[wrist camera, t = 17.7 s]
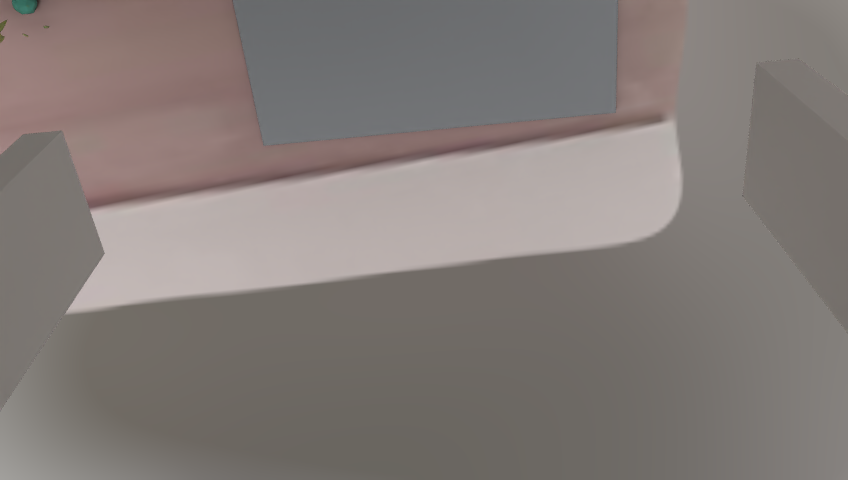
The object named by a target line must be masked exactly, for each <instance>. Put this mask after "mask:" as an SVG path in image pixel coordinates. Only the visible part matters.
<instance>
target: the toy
mask: <svg viewBox="0 0 848 480" xmlns="http://www.w3.org/2000/svg"><path fill="white" fill-rule="evenodd" d="M12 5H13V7H14V9H15V10H16V11H18V12H19V13H21V14H30V13H34V11H35V9H36V7H37V0H12ZM6 22H7V20H5V21H4V22H2V23H0V32H1V31H2V30H3V28H4V26H5V24H6ZM44 28H49V26H44ZM23 35H24V36H27V37H28V35H26V34H23ZM3 39H4V36H2V35H1V34H0V43H1V42H2V41H3Z"/></svg>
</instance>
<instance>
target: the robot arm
mask: <svg viewBox="0 0 848 480" xmlns="http://www.w3.org/2000/svg"><path fill="white" fill-rule="evenodd" d="M742 196H743V197H744V198H745V200H746V201H747V203H748V204H749V205H750V206H751V208H752V209H753V210H754V212H755V213H756V214H757V216H758V217H759V218H760V220H761V221H762V222H763V223H764V225H765V226H766V227H767V229H768V230H769V231H770V232H771V234H772V235H773V237H774V238H775V239H776V240H777V242H778V243H779V244H780V246H781V247H782V248H783V250H784V251H785V252H786V254H787V255H788V256H789V257H790V259H791V260H792V261H793V263H794V264H795V265H796V267H797V268H798V269H799V271H800V272H801V273H802V274H803V276H804V277H805V278H806V280H807V281H808V282H809V284H810V285H811V286H812V288H813V289H814V290H815V291H816V293H817V294H818V295H819V297H820V298H821V299H822V301H823V302H824V303H825V304H826V306H827V307H828V309H829V310H830V311H831V312H832V314H833V315H834V316H835V318H836V319H837V320H838V321H839V323H840V324H841V326H842V327H843V328H844V329H845V331H846V332H847V333H848V95H847V94H846V93H844V92H843V91H842V90H840V89H839V88H837V87H836V86H835V85H834V84H832V83H831V82H830V81H828V80H827V79H825V78H824V77H823V76H822V75H820V74H819V73H817V72H816V71H815V70H814V69H812V68H811V67H810V66H808V65H807V64H806V63H804V62H803V61H802V60H800V59H799V58H797V59H788V60H777V61H766V62H757V63H756V71H755V80H754V90H753V99H752V109H751V119H750V128H749V138H748V147H747V156H746V166H745V176H744V186H743V195H742ZM104 254H105V253H104V250H103V247H102V244H101V241H100V239H99V236H98V233H97V230H96V227H95V224H94V221H93V218H92V216H91V213H90V210H89V207H88V204H87V201H86V198H85V195H84V192H83V190H82V187H81V184H80V181H79V178H78V175H77V172H76V169H75V166H74V164H73V161H72V158H71V155H70V152H69V149H68V146H67V143H66V141H65V138H64V135H63V132H62V131H53V132H43V133H33V134H23V135H22V136H21V137H20V138H19V139H18V140H17V141H15V142H14V143H13V144H12V145H11V146H10V147H9V148H8V149H7V150H5V151H4V152H3V153H2V154H1V155H0V411H1V409H2V408H3V406H4V405H5V403H6V402H7V400H8V398H9V397H10V396H11V394H12V392H13V391H14V390H15V388H16V386H17V385H18V383H19V382H20V380H21V379H22V377H23V376H24V374H25V373H26V371H27V370H28V368H29V367H30V365H31V364H32V362H33V361H34V359H35V358H36V356H37V355H38V353H39V352H40V350H41V349H42V347H43V346H44V344H45V343H46V341H47V340H48V338H49V337H50V335H51V334H52V332H53V330H54V329H55V327H56V326H57V324H58V323H59V322H60V320H61V319H62V317H63V316H64V314H65V313H66V311H67V310H68V308H69V307H70V305H71V304H72V302H73V300H74V299H75V297H76V296H77V294H78V293H79V291H80V290H81V288H82V287H83V285H84V284H85V282H86V281H87V279H88V278H89V276H90V275H91V273H92V272H93V270H94V269H95V267H96V266H97V264H98V263H99V261H100V260H101V258H102V257H103V255H104Z"/></svg>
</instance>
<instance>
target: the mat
mask: <svg viewBox="0 0 848 480" xmlns="http://www.w3.org/2000/svg"><path fill="white" fill-rule="evenodd" d="M233 4H234V9H235V14H236V18H237V23H238V28H239V32H240V37H241V42H242V46H243V51H244V56H245V60H246V65H247V70H248V74H249V79H250V84H251V89H252V93H253V98H254V103H255V107H256V112H257V117H258V121H259V126H260V131H261V135H262V140H263V145H264V146H266V145H276V144H287V143H298V142H308V141H319V140H330V139H340V138H351V137H362V136H372V135H383V134H394V133H404V132H415V131H425V130H436V129H447V128H457V127H468V126H479V125H489V124H500V123H511V122H521V121H532V120H543V119H553V118H564V117H574V116H585V115H596V114H606V113H616V74H617V22H618V0H233Z"/></svg>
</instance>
